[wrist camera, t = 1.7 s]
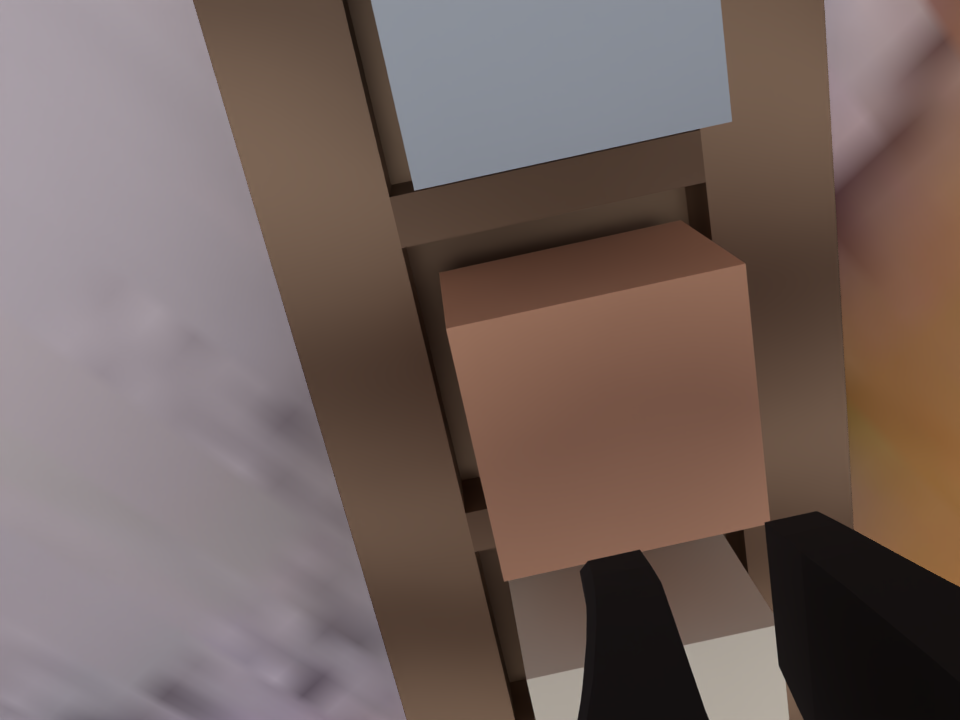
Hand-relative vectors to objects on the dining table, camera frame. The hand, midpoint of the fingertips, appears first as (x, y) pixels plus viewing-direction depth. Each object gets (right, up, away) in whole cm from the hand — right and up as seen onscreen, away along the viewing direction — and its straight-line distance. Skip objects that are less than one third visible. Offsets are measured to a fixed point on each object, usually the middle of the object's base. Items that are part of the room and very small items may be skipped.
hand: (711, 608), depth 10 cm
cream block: (+1, -4, +10) cm, 11 cm away
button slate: (-2, +9, +5) cm, 11 cm away
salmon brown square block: (-1, +3, +8) cm, 8 cm away
